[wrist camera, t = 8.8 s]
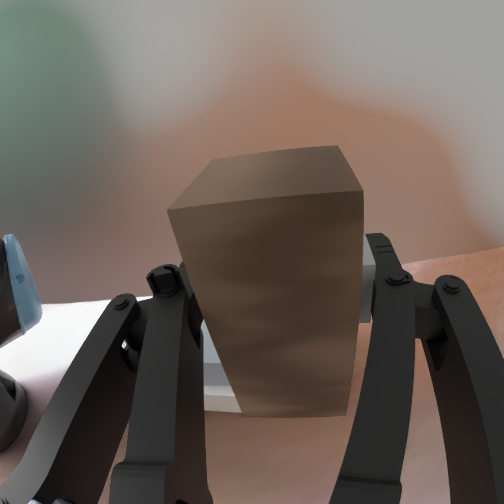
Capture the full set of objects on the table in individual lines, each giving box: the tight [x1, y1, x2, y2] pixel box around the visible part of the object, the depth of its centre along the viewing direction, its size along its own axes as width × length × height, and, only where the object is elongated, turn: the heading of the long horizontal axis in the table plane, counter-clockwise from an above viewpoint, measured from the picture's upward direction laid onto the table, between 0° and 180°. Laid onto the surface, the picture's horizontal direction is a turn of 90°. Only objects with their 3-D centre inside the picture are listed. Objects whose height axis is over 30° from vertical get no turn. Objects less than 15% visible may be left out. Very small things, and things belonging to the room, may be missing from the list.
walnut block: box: [167, 146, 364, 418], centre depth 12 cm, size 5×5×11 cm
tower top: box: [201, 319, 230, 386], centre depth 31 cm, size 9×9×4 cm
